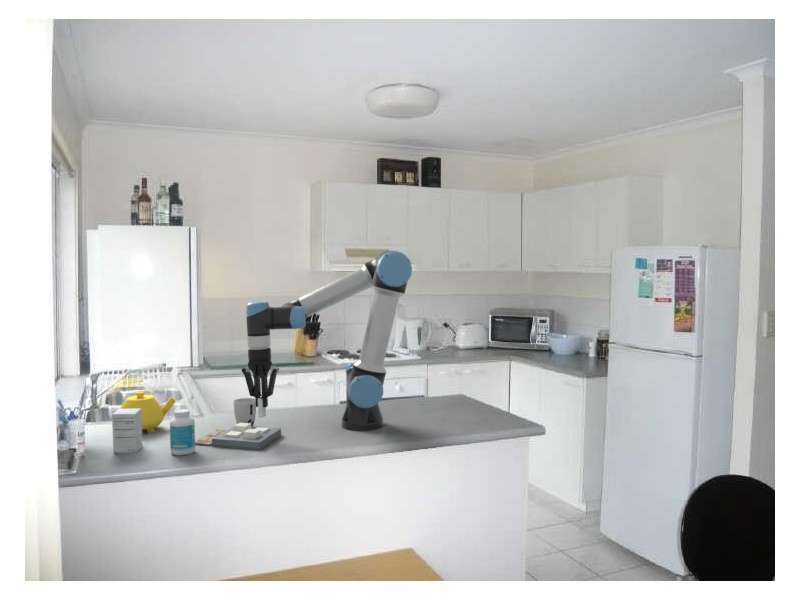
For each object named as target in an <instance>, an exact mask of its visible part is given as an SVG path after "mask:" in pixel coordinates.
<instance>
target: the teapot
mask: <svg viewBox="0 0 800 600" xmlns="http://www.w3.org/2000/svg"><path fill="white" fill-rule="evenodd" d="M134 393H135V394H134V395H129V396H127V397H126V398H125V400H124V401H123V403H122V404H121V406H120V407H119V409H134V408H139V409H141V416H142V431H143V430H146V432H147V433H149V432H151V433H155V432H156V429H155V428H156V427H158V426H160V425H161V423H163V420H165V419H164V418H165V416H166V415H167V414H168V412H169V410H171V408H172V407H173V406H174V404H176V402H177V400H176V399H175V398H173V396H170V397H169V398H168V400H167V401H166V402H165V403H164V405H163V406H161V404H160V402H159V401H158V399H157V398H156V397H155V396H154V395H151V394H145V393H146V391H143V390H142V391H135V392H134Z"/></svg>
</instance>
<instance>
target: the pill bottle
mask: <svg viewBox="0 0 800 600" xmlns="http://www.w3.org/2000/svg"><path fill="white" fill-rule="evenodd" d="M173 411H174V412H173V414H174V415H173V416H174V417H172V418H171V419H170V420H169V421H170V422H169V434H170V437H169V440H170V454H172V456H173V455H174V456H187V455H190V454H193V453H194V452H195V451H196V445H195V441H196V434H195V433H196V432H195V431H196V430H195V419H194V417H192V416H190V414H191V413H190V412H191V411H190V409H186V408H185V409H183V408H182V409H175V410H173Z"/></svg>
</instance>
